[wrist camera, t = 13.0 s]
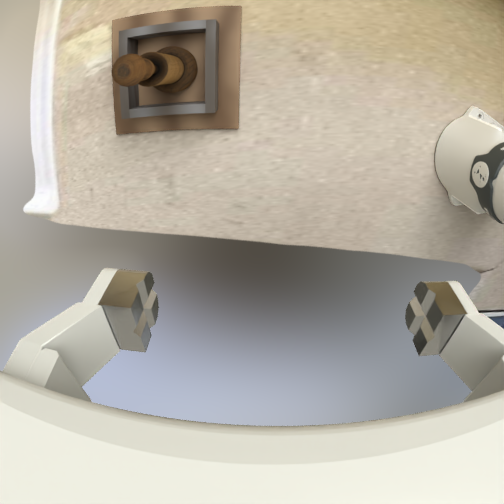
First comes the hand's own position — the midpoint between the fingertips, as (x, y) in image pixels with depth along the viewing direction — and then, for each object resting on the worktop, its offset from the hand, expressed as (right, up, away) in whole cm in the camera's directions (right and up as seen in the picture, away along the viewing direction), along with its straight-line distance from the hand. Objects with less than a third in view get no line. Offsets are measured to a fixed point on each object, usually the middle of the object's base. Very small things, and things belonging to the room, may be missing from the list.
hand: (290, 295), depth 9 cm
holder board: (-12, +26, +26) cm, 39 cm away
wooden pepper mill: (-12, +26, +26) cm, 38 cm away
